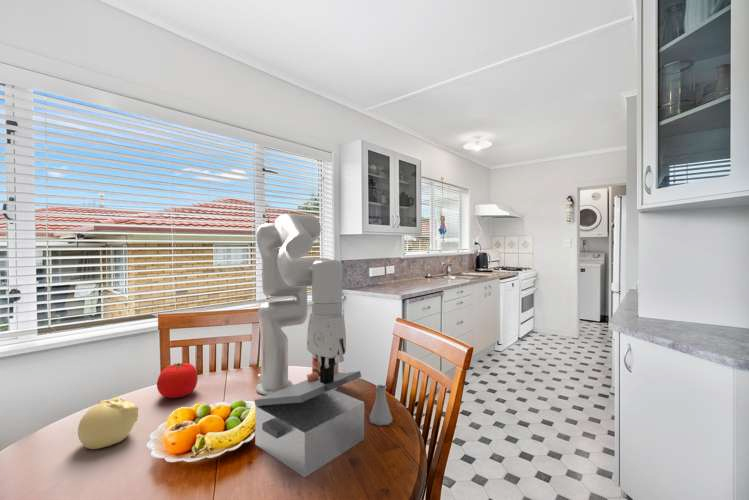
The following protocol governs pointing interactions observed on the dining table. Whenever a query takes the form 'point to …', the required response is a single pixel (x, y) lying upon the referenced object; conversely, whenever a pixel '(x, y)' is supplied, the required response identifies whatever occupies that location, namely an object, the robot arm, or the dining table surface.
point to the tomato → (177, 380)
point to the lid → (306, 389)
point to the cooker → (310, 430)
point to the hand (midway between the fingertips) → (327, 381)
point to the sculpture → (107, 423)
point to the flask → (380, 408)
